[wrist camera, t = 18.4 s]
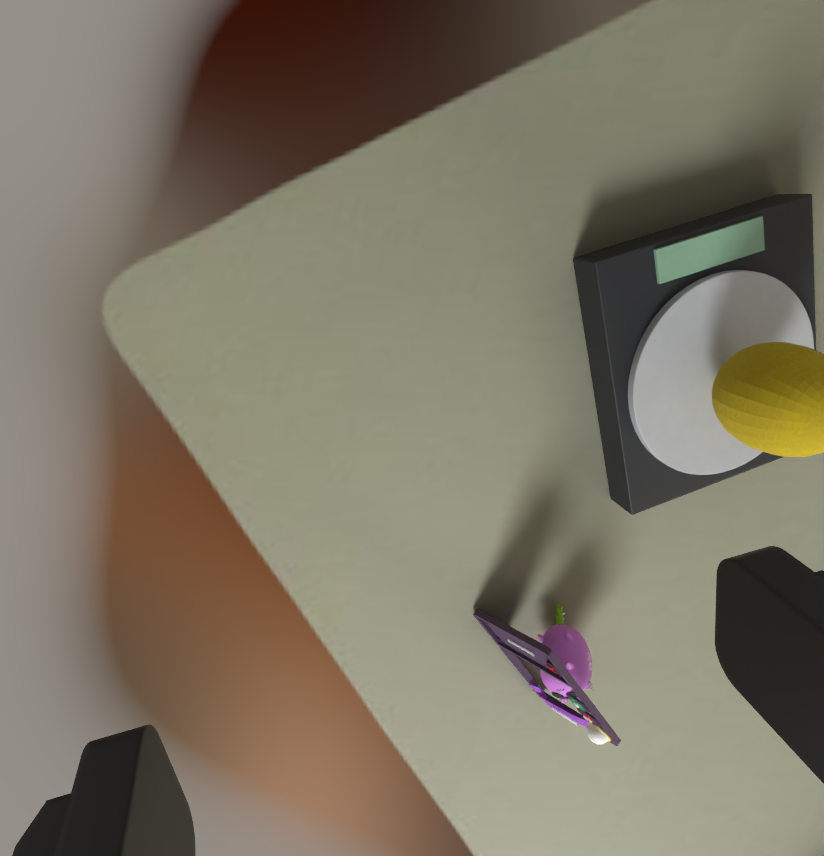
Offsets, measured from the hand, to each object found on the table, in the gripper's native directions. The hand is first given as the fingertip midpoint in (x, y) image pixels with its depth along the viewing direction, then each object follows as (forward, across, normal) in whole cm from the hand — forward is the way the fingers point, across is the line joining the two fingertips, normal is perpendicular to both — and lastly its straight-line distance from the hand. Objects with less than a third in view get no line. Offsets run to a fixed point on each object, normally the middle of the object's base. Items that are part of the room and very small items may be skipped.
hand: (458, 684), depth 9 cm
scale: (+27, -22, +8) cm, 35 cm away
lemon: (+24, -22, +8) cm, 33 cm away
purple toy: (+26, -10, +24) cm, 36 cm away
